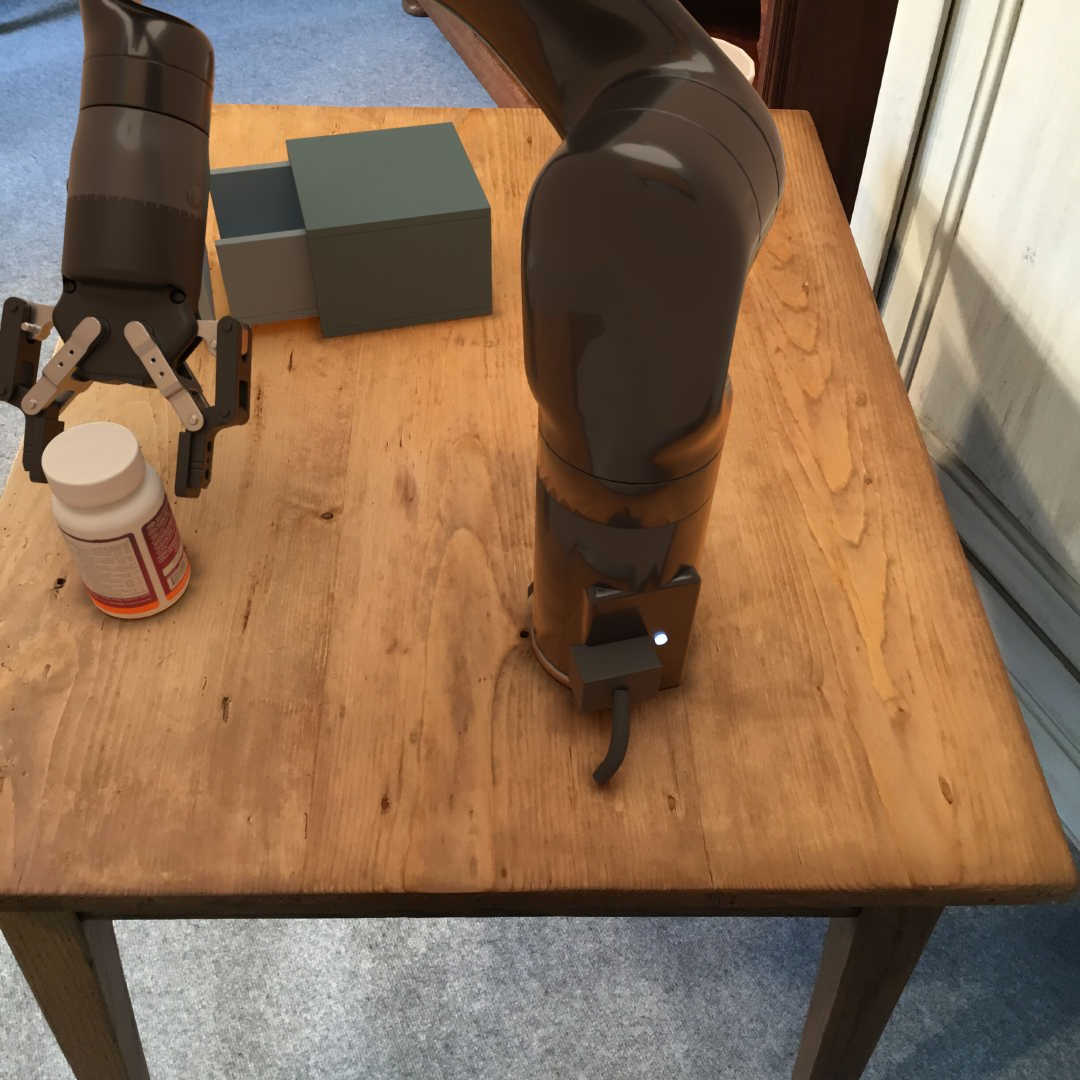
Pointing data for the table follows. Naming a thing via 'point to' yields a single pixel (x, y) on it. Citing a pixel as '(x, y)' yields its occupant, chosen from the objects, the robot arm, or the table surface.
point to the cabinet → (393, 228)
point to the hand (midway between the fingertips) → (115, 490)
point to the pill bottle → (115, 520)
